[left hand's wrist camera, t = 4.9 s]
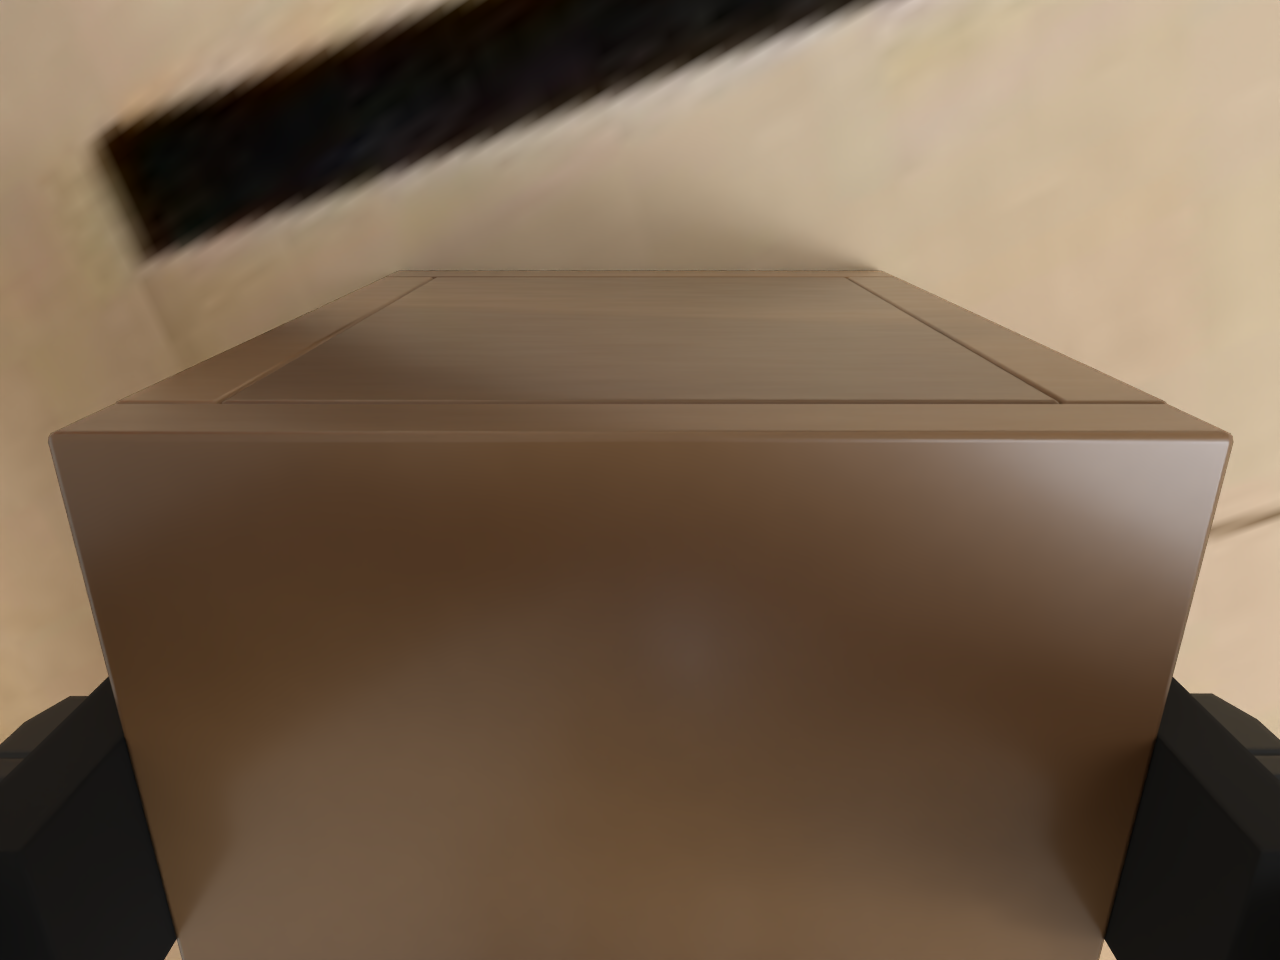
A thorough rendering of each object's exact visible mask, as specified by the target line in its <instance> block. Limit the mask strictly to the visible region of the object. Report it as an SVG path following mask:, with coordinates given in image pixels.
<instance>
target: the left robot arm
mask: <svg viewBox="0 0 1280 960" xmlns="http://www.w3.org/2000/svg"><path fill="white" fill-rule="evenodd" d="M176 939H177V938H176V934H175V930H174V926H173V922H172V919H171V915H170V911H169V907H168V903H167V899H166V895H165V891H164V888H163V884H162V880H161V876H160V872H159V868H158V864H157V861H156V857H155V853H154V849H153V845H152V841H151V837H150V833H149V830H148V826H147V822H146V818H145V814H144V810H143V806H142V803H141V799H140V795H139V791H138V787H137V783H136V779H135V775H134V772H133V768H132V764H131V760H130V756H129V752H128V748H127V745H126V741H125V737H124V733H123V729H122V725H121V721H120V718H119V714H118V710H117V706H116V702H115V698H114V694H113V690H112V687H111V683H110V679H109V677H108V678H107V679H106V680H105V681H104V682H103V683H101V684H100V685H99V686H98V687H97V688H96V689H95V690H94V691H93V692H92V693H91V694H90V695H89V696H69V697H68V698H66V699H64V700H63V701H61V702H59V703H57V704H56V705H54V706H52V707H50V708H49V709H47V710H45V711H43V712H42V713H40V714H38V715H36V716H35V717H33V718H31V719H29V720H28V721H26V722H24V723H23V724H22V725H21V726H20V727H19V728H18V729H17V730H16V731H15V732H13V733H12V734H11V735H10V736H9V737H8V738H7V739H6V740H5V741H4V742H3V743H1V744H0V960H164V959H165V957H166V956H167V954H168V952H169V951H170V949H171V947H172V946H173V944H174V942H175V941H176ZM1104 939H1105V941H1106V942H1107V944H1108V946H1109V947H1110V949H1111V951H1112V953H1113V954H1114V956H1115V958H1116V959H1117V960H1280V740H1279V739H1278V738H1277V737H1276V736H1275V735H1274V734H1273V733H1272V732H1271V731H1269V730H1268V729H1267V728H1266V727H1265V726H1264V725H1263V724H1262V723H1261V722H1260V721H1258V720H1257V719H1256V718H1254V717H1252V716H1250V715H1249V714H1247V713H1245V712H1243V711H1242V710H1240V709H1238V708H1236V707H1235V706H1233V705H1231V704H1229V703H1228V702H1226V701H1224V700H1222V699H1221V698H1219V697H1217V696H1215V695H1214V694H1190V693H1189V692H1188V691H1187V690H1186V689H1185V688H1184V687H1183V686H1182V685H1181V684H1180V683H1178V682H1177V681H1176V680H1175V679H1174V678H1173V677H1172V680H1171V684H1170V688H1169V692H1168V696H1167V699H1166V703H1165V707H1164V711H1163V715H1162V719H1161V723H1160V726H1159V730H1158V734H1157V738H1156V742H1155V746H1154V750H1153V753H1152V757H1151V761H1150V765H1149V769H1148V773H1147V776H1146V780H1145V784H1144V788H1143V792H1142V796H1141V800H1140V803H1139V807H1138V811H1137V815H1136V819H1135V823H1134V827H1133V830H1132V834H1131V838H1130V842H1129V846H1128V850H1127V854H1126V857H1125V861H1124V865H1123V869H1122V873H1121V877H1120V880H1119V884H1118V888H1117V892H1116V896H1115V900H1114V904H1113V907H1112V911H1111V915H1110V919H1109V923H1108V927H1107V931H1106V934H1105V938H1104Z"/></svg>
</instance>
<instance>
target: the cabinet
mask: <svg viewBox="0 0 1280 960" xmlns="http://www.w3.org/2000/svg"><path fill="white" fill-rule="evenodd" d="M48 443H49V447H50V451H51V455H52V459H53V462H54V466H55V470H56V474H57V478H58V482H59V486H60V489H61V493H62V497H63V501H64V505H65V509H66V513H67V517H68V520H69V524H70V528H71V532H72V536H73V540H74V544H75V547H76V551H77V555H78V559H79V563H80V567H81V571H82V574H83V578H84V582H85V586H86V590H87V594H88V598H89V602H90V605H91V609H92V613H93V617H94V621H95V625H96V629H97V632H98V636H99V640H100V644H101V648H102V652H103V656H104V660H105V663H106V667H107V671H108V675H109V679H110V683H111V687H112V690H113V694H114V698H115V702H116V706H117V710H118V714H119V718H120V721H121V725H122V729H123V733H124V737H125V741H126V745H127V748H128V752H129V756H130V760H131V764H132V768H133V772H134V775H135V779H136V783H137V787H138V791H139V795H140V799H141V803H142V806H143V810H144V814H145V818H146V822H147V826H148V830H149V833H150V837H151V841H152V845H153V849H154V853H155V857H156V861H157V864H158V868H159V872H160V876H161V880H162V884H163V888H164V891H165V895H166V899H167V903H168V907H169V911H170V915H171V919H172V922H173V926H174V930H175V934H176V938H177V942H178V946H179V949H180V953H181V957H182V960H1099V958H1100V954H1101V950H1102V946H1103V942H1104V938H1105V934H1106V931H1107V927H1108V923H1109V919H1110V915H1111V911H1112V907H1113V904H1114V900H1115V896H1116V892H1117V888H1118V884H1119V880H1120V877H1121V873H1122V869H1123V865H1124V861H1125V857H1126V854H1127V850H1128V846H1129V842H1130V838H1131V834H1132V830H1133V827H1134V823H1135V819H1136V815H1137V811H1138V807H1139V803H1140V800H1141V796H1142V792H1143V788H1144V784H1145V780H1146V776H1147V773H1148V769H1149V765H1150V761H1151V757H1152V753H1153V750H1154V746H1155V742H1156V738H1157V734H1158V730H1159V726H1160V723H1161V719H1162V715H1163V711H1164V707H1165V703H1166V699H1167V696H1168V692H1169V688H1170V684H1171V680H1172V676H1173V672H1174V669H1175V665H1176V661H1177V657H1178V653H1179V649H1180V646H1181V642H1182V638H1183V634H1184V630H1185V626H1186V622H1187V619H1188V615H1189V611H1190V607H1191V603H1192V599H1193V595H1194V592H1195V588H1196V584H1197V580H1198V576H1199V572H1200V568H1201V565H1202V561H1203V557H1204V553H1205V549H1206V545H1207V542H1208V538H1209V534H1210V530H1211V526H1212V522H1213V518H1214V515H1215V511H1216V507H1217V503H1218V499H1219V495H1220V491H1221V488H1222V484H1223V480H1224V476H1225V472H1226V468H1227V464H1228V461H1229V457H1230V453H1231V449H1232V445H1233V436H1232V435H1231V433H1228V432H1226V431H1224V430H1222V429H1220V428H1218V427H1215V426H1213V425H1211V424H1209V423H1207V422H1205V421H1203V420H1200V419H1198V418H1196V417H1194V416H1192V415H1190V414H1188V413H1185V412H1183V411H1181V410H1179V409H1177V408H1175V407H1173V406H1170V405H1168V404H1167V403H1166V402H1165V401H1163V400H1161V399H1158V398H1156V397H1154V396H1152V395H1150V394H1148V393H1145V392H1143V391H1141V390H1139V389H1137V388H1135V387H1132V386H1130V385H1128V384H1126V383H1124V382H1122V381H1119V380H1117V379H1115V378H1113V377H1111V376H1109V375H1107V374H1104V373H1102V372H1100V371H1098V370H1096V369H1094V368H1091V367H1089V366H1087V365H1085V364H1083V363H1081V362H1078V361H1076V360H1074V359H1072V358H1070V357H1068V356H1065V355H1063V354H1061V353H1059V352H1057V351H1055V350H1052V349H1050V348H1048V347H1046V346H1044V345H1042V344H1040V343H1037V342H1035V341H1033V340H1031V339H1029V338H1027V337H1024V336H1022V335H1020V334H1018V333H1016V332H1014V331H1011V330H1009V329H1007V328H1005V327H1003V326H1001V325H998V324H996V323H994V322H992V321H990V320H988V319H985V318H983V317H981V316H979V315H977V314H975V313H973V312H970V311H968V310H966V309H964V308H962V307H960V306H957V305H955V304H953V303H951V302H949V301H947V300H944V299H942V298H940V297H938V296H936V295H934V294H931V293H929V292H927V291H925V290H923V289H921V288H918V287H916V286H914V285H912V284H910V283H908V282H906V281H903V280H901V279H899V278H897V277H894V276H892V275H890V274H888V273H885V272H883V271H397V272H395V273H393V274H391V275H389V276H387V277H384V278H382V279H380V280H378V281H376V282H373V283H371V284H369V285H367V286H365V287H363V288H361V289H358V290H356V291H354V292H352V293H350V294H348V295H345V296H343V297H341V298H339V299H337V300H335V301H333V302H330V303H328V304H326V305H324V306H322V307H320V308H317V309H315V310H313V311H311V312H309V313H307V314H305V315H302V316H300V317H298V318H296V319H294V320H292V321H289V322H287V323H285V324H283V325H281V326H279V327H277V328H274V329H272V330H270V331H268V332H266V333H264V334H261V335H259V336H257V337H255V338H253V339H251V340H249V341H246V342H244V343H242V344H240V345H238V346H236V347H233V348H231V349H229V350H227V351H225V352H223V353H221V354H218V355H216V356H214V357H212V358H210V359H208V360H205V361H203V362H201V363H199V364H197V365H195V366H193V367H190V368H188V369H186V370H184V371H182V372H180V373H177V374H175V375H173V376H171V377H169V378H167V379H165V380H162V381H160V382H158V383H156V384H154V385H152V386H149V387H147V388H145V389H143V390H141V391H139V392H137V393H134V394H132V395H130V396H128V397H126V398H124V399H121V400H119V401H117V402H116V404H113V405H111V406H109V407H106V408H104V409H102V410H100V411H98V412H96V413H94V414H91V415H89V416H87V417H85V418H83V419H81V420H79V421H76V422H74V423H72V424H70V425H68V426H66V427H63V428H61V429H59V430H57V431H55V432H53V433H51V434H50V435H49V440H48Z"/></svg>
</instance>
